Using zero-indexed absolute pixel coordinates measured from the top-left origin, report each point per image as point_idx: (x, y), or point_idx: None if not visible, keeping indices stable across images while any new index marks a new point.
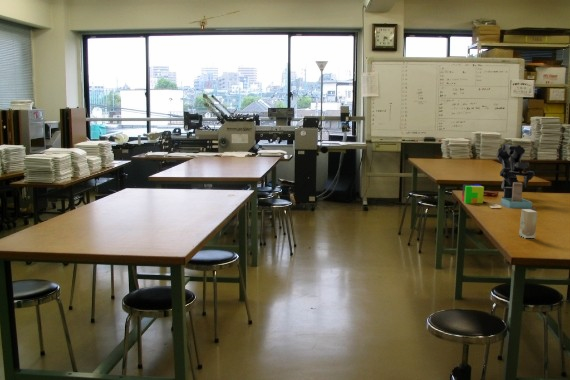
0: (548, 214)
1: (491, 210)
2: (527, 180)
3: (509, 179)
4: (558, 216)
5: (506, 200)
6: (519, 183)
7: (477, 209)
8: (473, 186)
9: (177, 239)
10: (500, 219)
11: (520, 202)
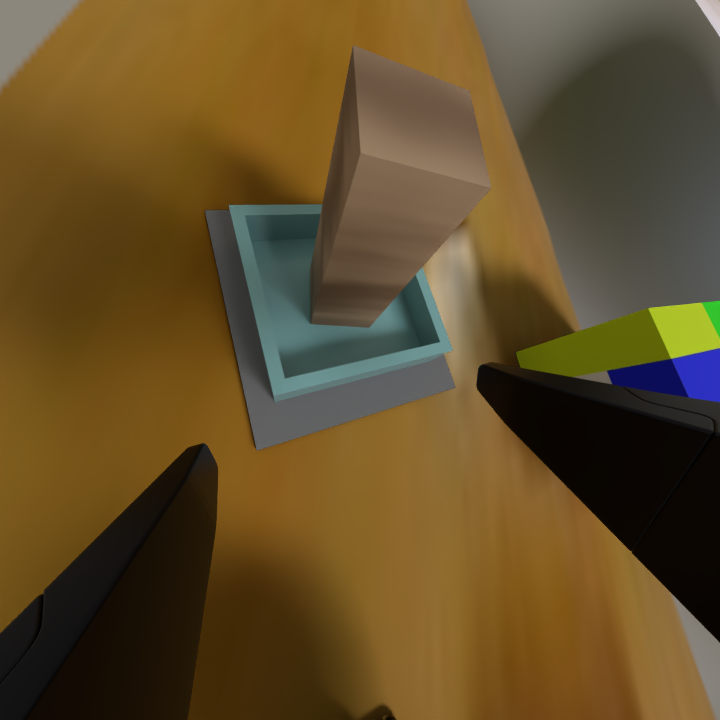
0: (174, 75)
1: None
2: (38, 631)
3: (598, 382)
4: (125, 23)
5: None
6: (399, 69)
7: (510, 192)
8: (706, 330)
9: (714, 18)
10: (421, 26)
11: None
